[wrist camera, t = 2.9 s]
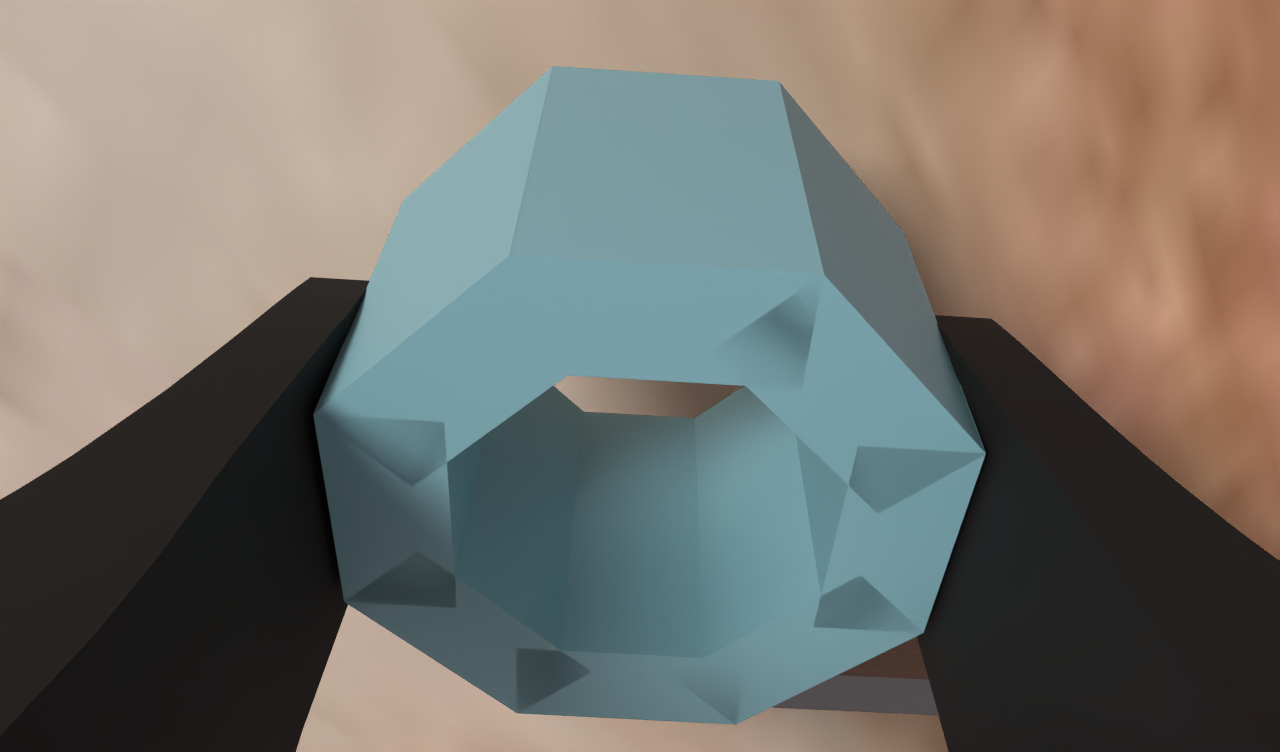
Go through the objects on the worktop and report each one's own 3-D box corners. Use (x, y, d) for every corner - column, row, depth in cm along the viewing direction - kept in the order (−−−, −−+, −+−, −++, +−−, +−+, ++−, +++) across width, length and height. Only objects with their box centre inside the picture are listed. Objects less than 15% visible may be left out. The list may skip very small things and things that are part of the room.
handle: (1238, 499, 18) (1362, 693, 15) (1126, 698, 21) (1208, 891, 18) (650, 468, 17) (650, 659, 14) (632, 675, 21) (628, 867, 18)
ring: (936, 91, 10) (1043, 287, 7) (841, 488, 13) (888, 731, 10) (391, 55, 10) (284, 240, 7) (425, 465, 13) (360, 705, 10)
